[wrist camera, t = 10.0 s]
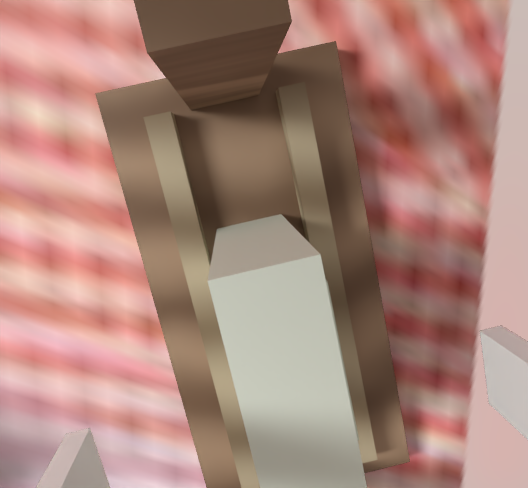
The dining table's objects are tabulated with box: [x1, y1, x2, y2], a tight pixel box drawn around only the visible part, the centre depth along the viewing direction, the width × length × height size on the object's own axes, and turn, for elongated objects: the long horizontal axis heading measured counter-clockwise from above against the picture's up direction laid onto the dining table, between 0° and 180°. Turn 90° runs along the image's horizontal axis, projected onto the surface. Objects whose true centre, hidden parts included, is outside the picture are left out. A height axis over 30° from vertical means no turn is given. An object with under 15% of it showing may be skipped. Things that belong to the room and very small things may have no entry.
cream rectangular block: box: [208, 214, 367, 488], centre depth 22 cm, size 10×4×12 cm, turn 12°
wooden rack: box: [95, 0, 410, 488], centre depth 22 cm, size 28×14×16 cm, turn 12°
